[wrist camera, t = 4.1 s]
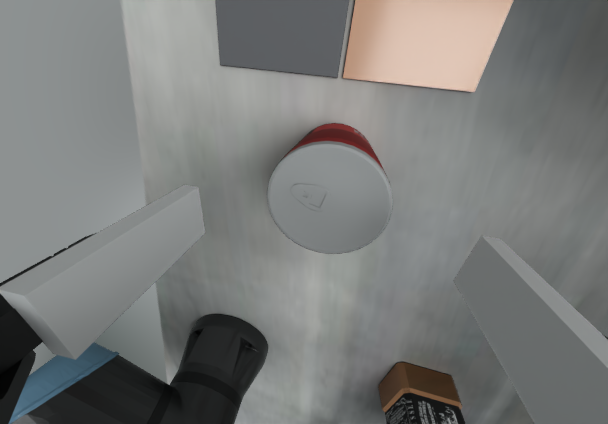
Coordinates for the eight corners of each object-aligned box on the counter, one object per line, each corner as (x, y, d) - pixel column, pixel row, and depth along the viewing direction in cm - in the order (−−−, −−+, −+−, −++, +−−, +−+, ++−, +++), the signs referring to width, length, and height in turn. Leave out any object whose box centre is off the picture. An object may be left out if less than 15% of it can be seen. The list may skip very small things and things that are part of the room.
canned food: (299, 118, 22) (264, 135, 12) (381, 126, 21) (412, 151, 11) (295, 189, 25) (266, 245, 16) (364, 198, 24) (377, 263, 15)
